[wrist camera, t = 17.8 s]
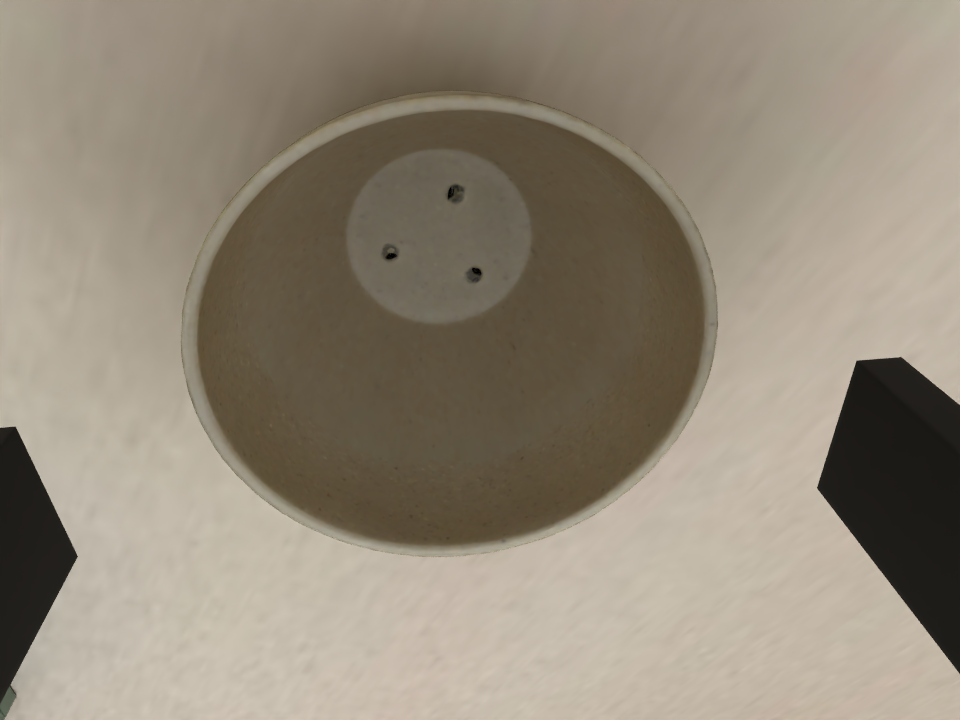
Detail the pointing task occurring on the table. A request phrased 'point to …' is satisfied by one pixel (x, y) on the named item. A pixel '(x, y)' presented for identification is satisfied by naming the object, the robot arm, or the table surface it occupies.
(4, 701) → the green storage box
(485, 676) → the table surface
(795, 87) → the table surface
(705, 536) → the table surface
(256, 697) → the table surface
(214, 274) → the beige plant pot
